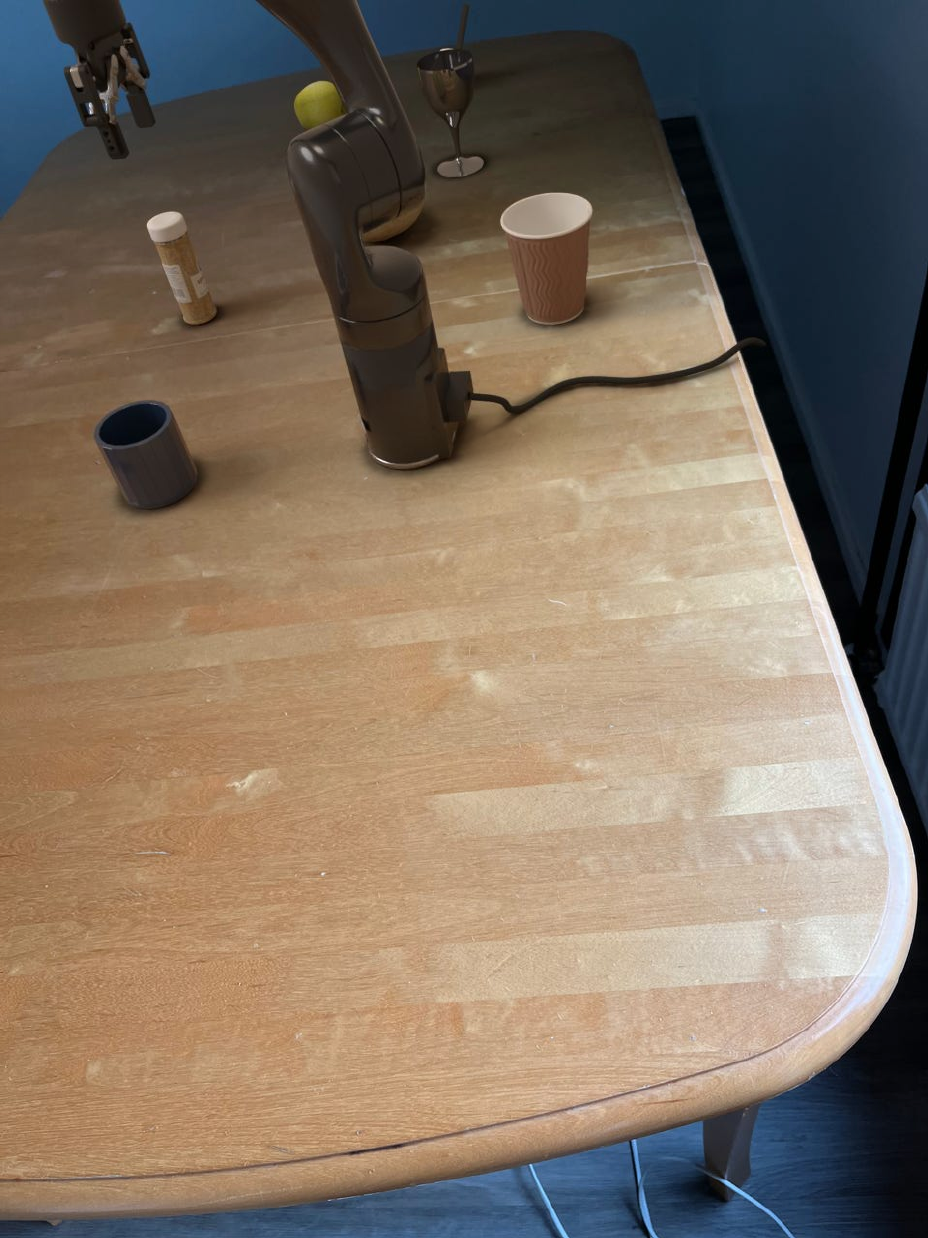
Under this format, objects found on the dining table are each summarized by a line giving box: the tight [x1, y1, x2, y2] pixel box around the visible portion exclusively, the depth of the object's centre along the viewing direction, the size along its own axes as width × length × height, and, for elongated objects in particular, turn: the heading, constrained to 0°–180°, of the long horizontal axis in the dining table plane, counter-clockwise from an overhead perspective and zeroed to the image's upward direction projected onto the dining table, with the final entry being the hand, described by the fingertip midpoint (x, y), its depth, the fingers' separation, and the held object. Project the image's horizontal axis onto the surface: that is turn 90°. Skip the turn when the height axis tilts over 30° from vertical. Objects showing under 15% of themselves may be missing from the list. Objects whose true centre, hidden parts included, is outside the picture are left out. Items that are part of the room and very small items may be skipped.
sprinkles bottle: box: [146, 211, 218, 326], centre depth 129 cm, size 5×5×13 cm
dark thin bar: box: [439, 1, 470, 51], centre depth 171 cm, size 10×6×12 cm, turn 98°
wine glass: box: [416, 48, 485, 178], centre depth 149 cm, size 8×8×15 cm
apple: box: [293, 80, 347, 131], centre depth 167 cm, size 8×9×8 cm
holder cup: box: [93, 399, 199, 510], centre depth 108 cm, size 8×8×8 cm
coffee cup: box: [499, 192, 593, 326], centre depth 118 cm, size 10×10×12 cm
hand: (134, 141), depth 118 cm, fingers open, 8 cm apart
